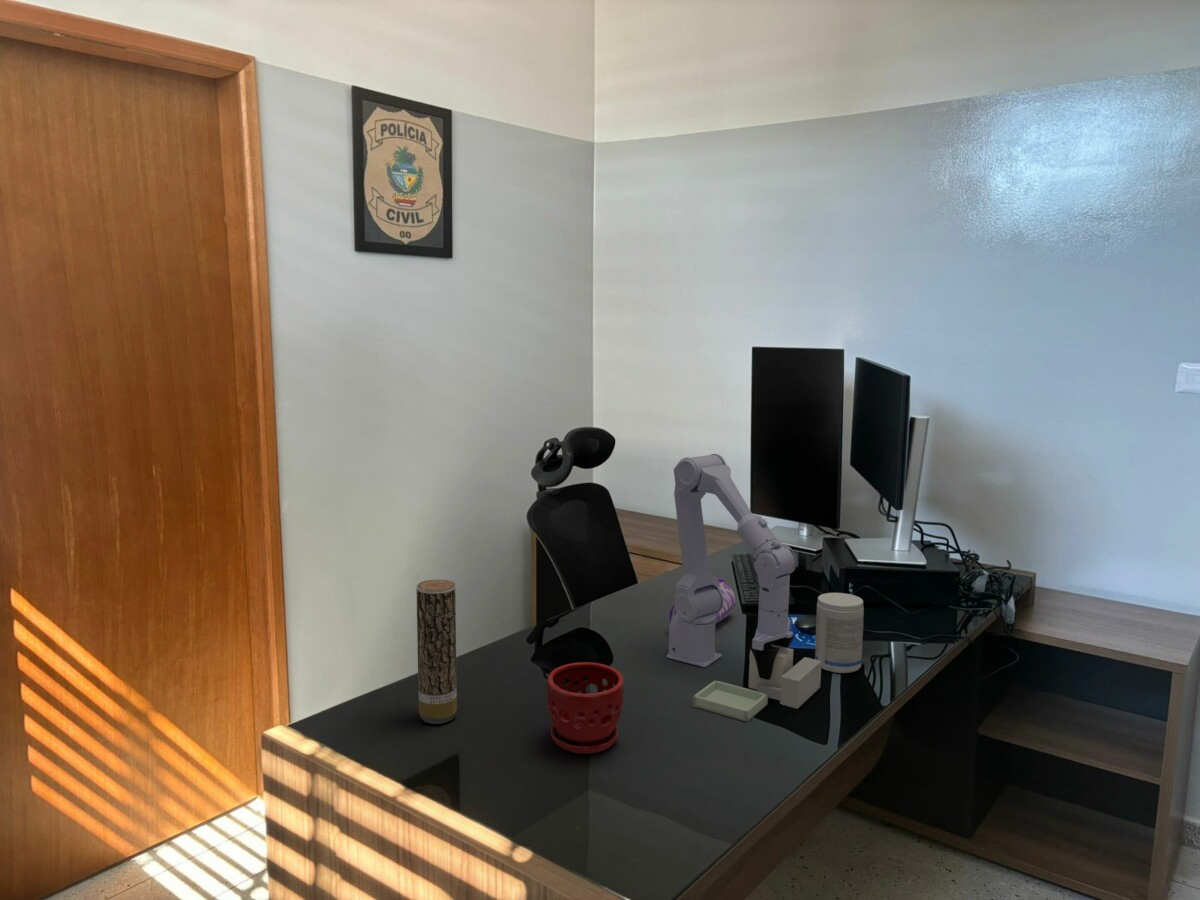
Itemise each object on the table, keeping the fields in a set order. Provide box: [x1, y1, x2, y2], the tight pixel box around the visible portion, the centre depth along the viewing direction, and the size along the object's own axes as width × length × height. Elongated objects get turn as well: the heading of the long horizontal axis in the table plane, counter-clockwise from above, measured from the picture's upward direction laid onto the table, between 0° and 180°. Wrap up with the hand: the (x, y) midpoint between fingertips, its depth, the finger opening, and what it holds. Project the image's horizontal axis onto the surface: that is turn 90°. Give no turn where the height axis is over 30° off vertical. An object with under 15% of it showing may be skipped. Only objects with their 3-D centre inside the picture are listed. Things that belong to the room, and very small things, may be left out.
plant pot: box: [546, 661, 625, 754], centre depth 151 cm, size 13×13×12 cm
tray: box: [692, 680, 769, 723], centre depth 167 cm, size 11×9×2 cm
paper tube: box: [416, 579, 458, 719], centre depth 158 cm, size 7×7×25 cm
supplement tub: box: [814, 592, 865, 674], centre depth 186 cm, size 10×10×15 cm
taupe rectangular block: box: [748, 644, 794, 691], centre depth 175 cm, size 8×5×8 cm, turn 56°
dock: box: [756, 656, 822, 710], centre depth 173 cm, size 9×12×6 cm
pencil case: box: [668, 577, 737, 625], centre depth 209 cm, size 22×9×10 cm, turn 150°
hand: (770, 673), depth 175 cm, fingers closed on taupe rectangular block, 5 cm apart
